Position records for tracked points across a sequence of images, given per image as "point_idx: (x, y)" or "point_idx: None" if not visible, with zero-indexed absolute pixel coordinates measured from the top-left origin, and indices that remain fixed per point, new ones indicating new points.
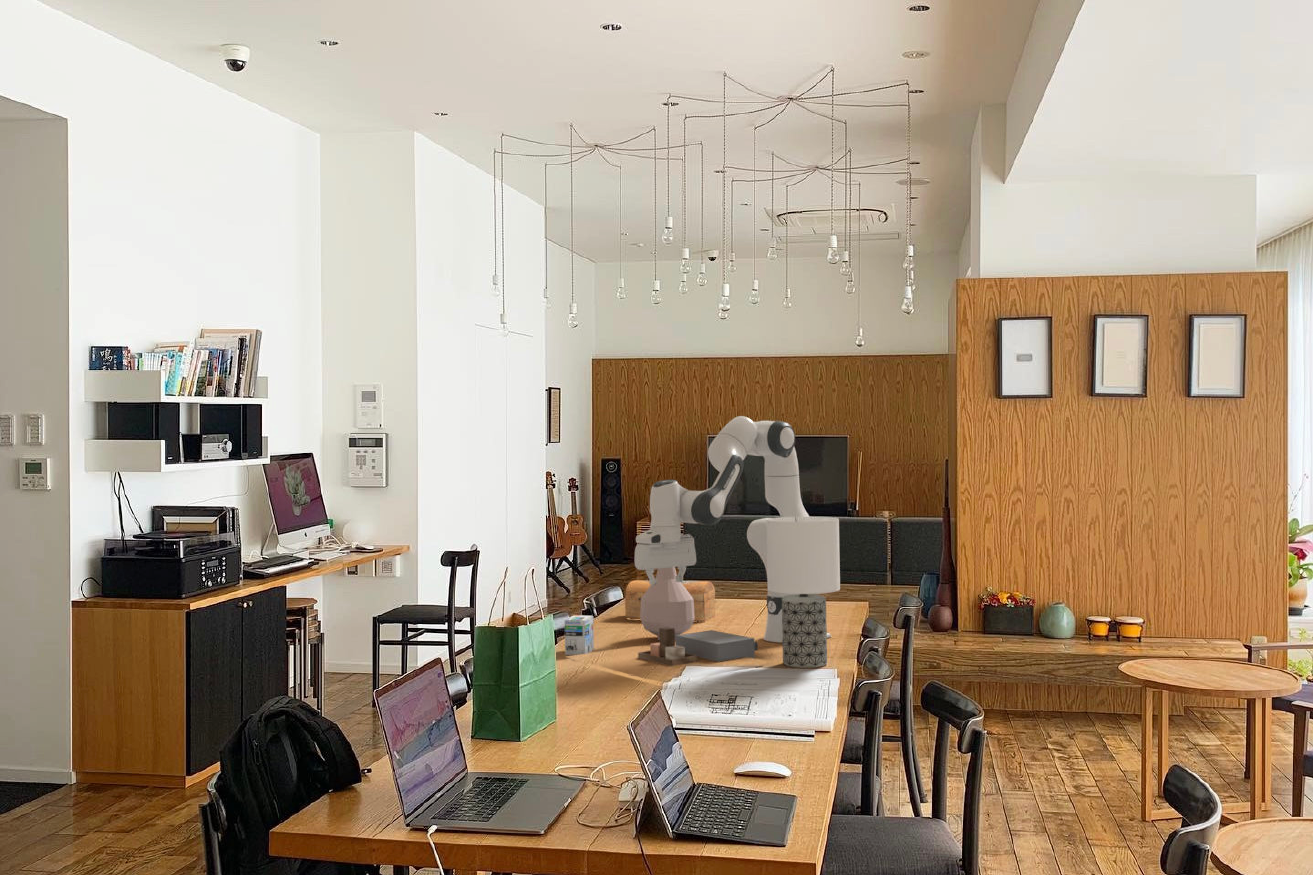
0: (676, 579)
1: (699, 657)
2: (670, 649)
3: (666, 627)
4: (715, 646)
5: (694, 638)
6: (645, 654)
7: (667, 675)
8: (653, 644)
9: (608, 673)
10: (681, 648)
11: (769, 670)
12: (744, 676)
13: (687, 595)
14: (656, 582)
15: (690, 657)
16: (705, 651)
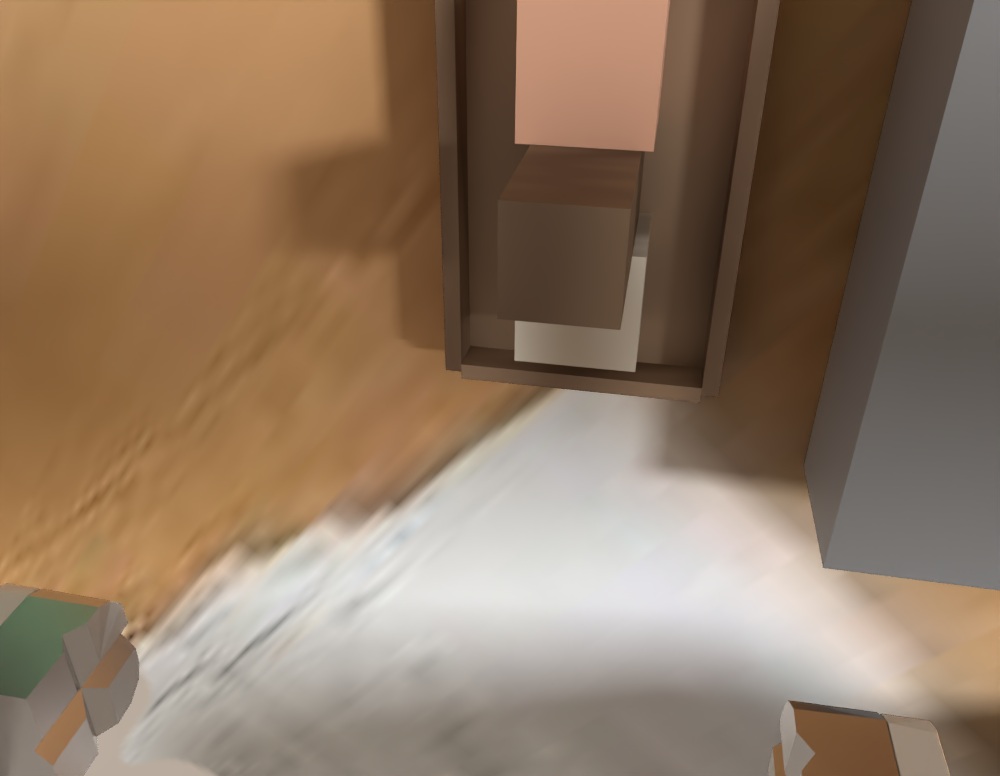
0: (793, 765)
1: (852, 280)
2: None
3: (596, 218)
4: (826, 528)
5: (939, 247)
6: (437, 34)
7: (332, 459)
8: (519, 52)
9: (41, 153)
10: (600, 364)
11: None
12: (637, 732)
13: None
14: (106, 717)
15: (638, 392)
16: (844, 383)
